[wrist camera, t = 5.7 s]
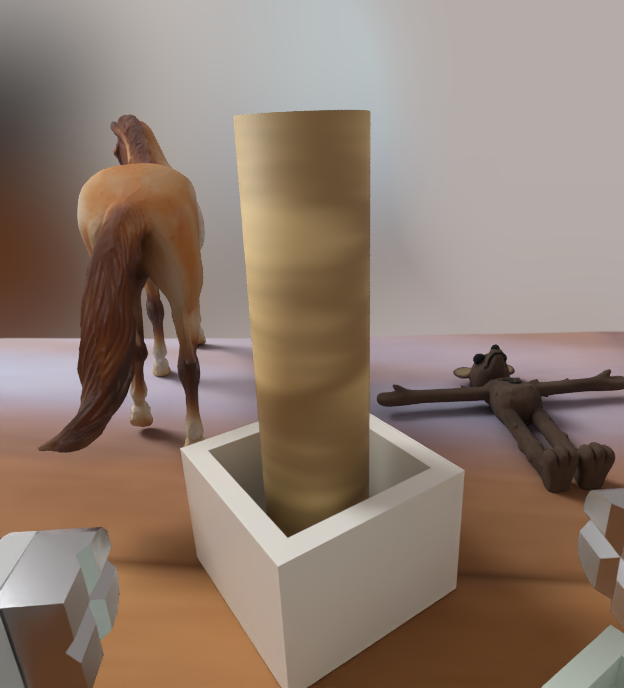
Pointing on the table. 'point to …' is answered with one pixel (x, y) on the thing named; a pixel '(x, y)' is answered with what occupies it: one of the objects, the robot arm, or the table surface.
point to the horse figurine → (136, 285)
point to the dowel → (309, 306)
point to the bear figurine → (526, 417)
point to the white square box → (325, 550)
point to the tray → (595, 664)
